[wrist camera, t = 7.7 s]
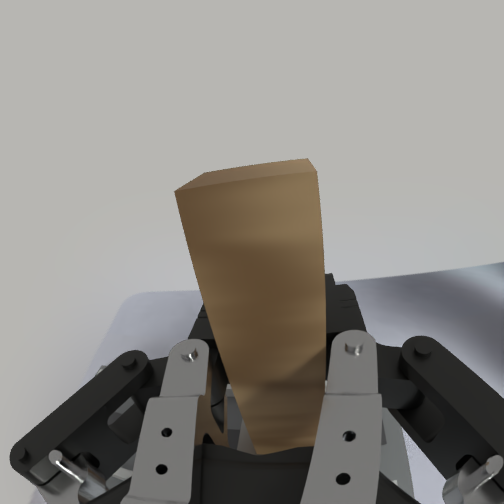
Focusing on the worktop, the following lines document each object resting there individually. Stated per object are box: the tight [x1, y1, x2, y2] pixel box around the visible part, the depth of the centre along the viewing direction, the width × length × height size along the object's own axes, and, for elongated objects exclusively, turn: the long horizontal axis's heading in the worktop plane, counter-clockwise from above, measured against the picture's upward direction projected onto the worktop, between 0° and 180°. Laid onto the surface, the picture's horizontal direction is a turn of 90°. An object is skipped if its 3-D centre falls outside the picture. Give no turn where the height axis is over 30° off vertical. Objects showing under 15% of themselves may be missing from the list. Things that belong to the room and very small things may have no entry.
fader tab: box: [175, 159, 326, 455], centre depth 9 cm, size 5×6×13 cm
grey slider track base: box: [95, 366, 414, 498], centre depth 13 cm, size 21×10×2 cm, turn 83°
